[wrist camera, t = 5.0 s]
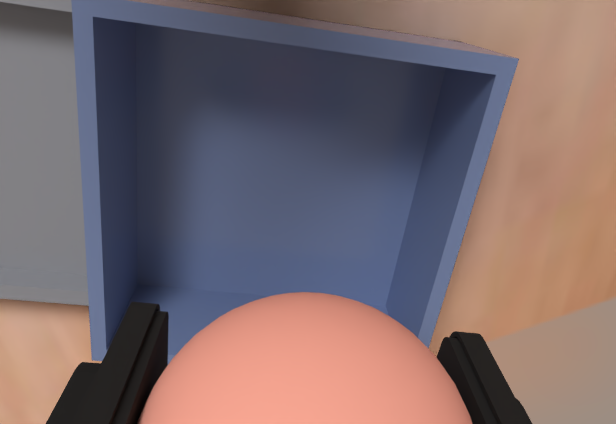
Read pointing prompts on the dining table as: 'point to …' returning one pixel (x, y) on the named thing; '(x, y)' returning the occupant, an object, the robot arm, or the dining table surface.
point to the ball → (304, 369)
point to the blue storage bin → (273, 160)
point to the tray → (40, 156)
